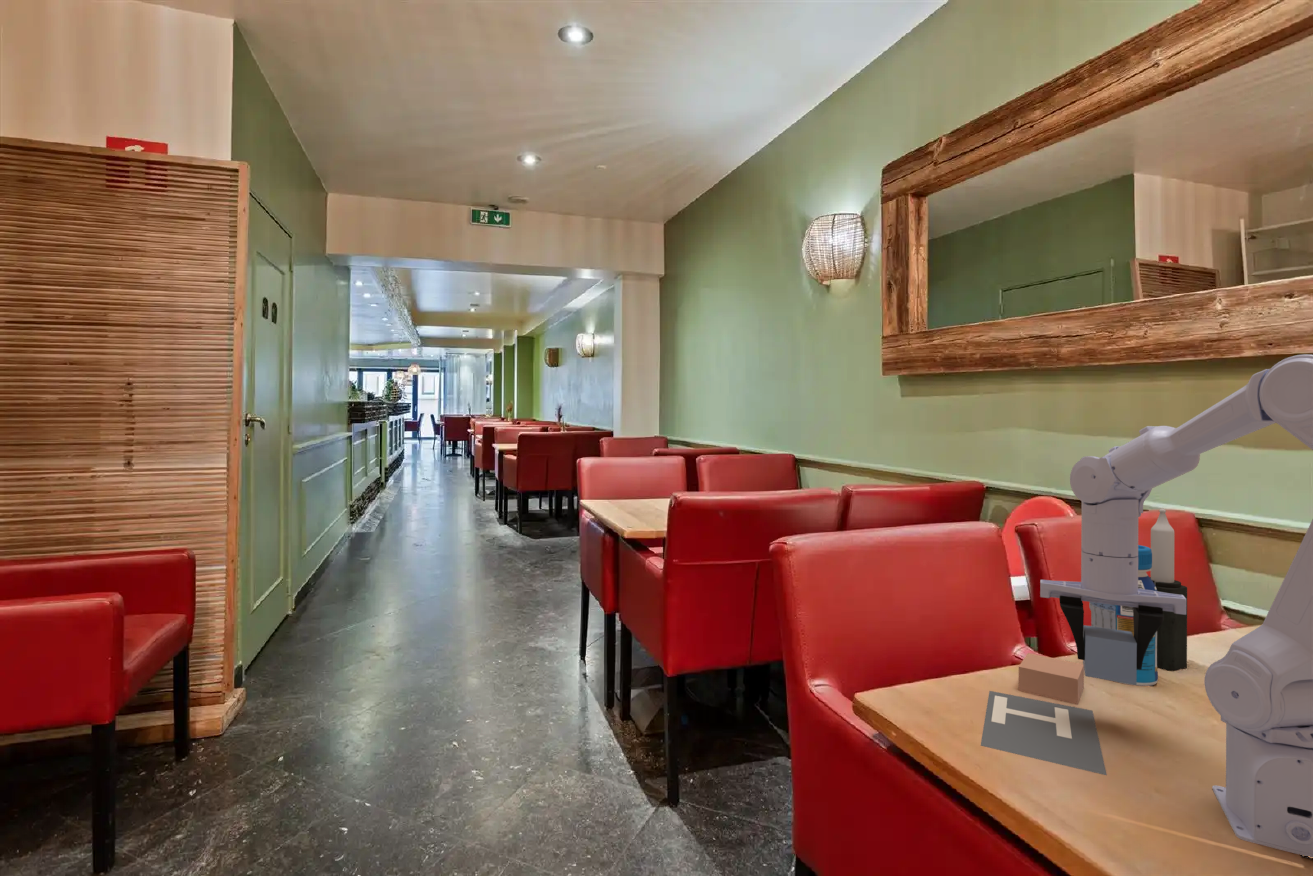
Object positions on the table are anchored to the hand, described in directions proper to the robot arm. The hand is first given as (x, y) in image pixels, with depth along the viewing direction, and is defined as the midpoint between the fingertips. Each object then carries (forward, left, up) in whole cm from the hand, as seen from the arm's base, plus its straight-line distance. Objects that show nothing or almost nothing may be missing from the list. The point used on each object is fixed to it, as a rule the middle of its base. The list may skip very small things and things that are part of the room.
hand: (1108, 661), depth 76 cm
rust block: (+10, +6, -9) cm, 14 cm away
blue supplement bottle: (+21, -4, -9) cm, 23 cm away
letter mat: (-5, +7, -9) cm, 12 cm away
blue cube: (0, 0, -2) cm, 2 cm away
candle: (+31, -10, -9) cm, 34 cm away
